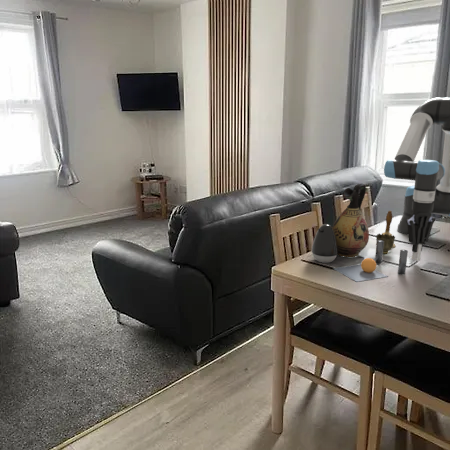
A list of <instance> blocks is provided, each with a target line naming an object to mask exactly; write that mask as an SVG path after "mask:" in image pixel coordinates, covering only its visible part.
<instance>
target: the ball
mask: <svg viewBox="0 0 450 450" xmlns="http://www.w3.org/2000/svg"><path fill="white" fill-rule="evenodd" d="M360 264H361V268H362V270H363V271H365V272H367V273H371V272H373V271H374V270H376V269H377V264H376V262H375V259H373V258H371V257H366V258H364V259H363V260H361V263H360Z"/></svg>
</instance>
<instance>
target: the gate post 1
mask: <svg viewBox="0 0 450 450" xmlns="http://www.w3.org/2000/svg"><path fill="white" fill-rule="evenodd" d="M375 246H376V248H375V255H374V256H375V258H374V261H375V262H376V265H381V264H383V246H384V241H382V240H377V245H375Z"/></svg>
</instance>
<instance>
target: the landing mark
mask: <svg viewBox="0 0 450 450" xmlns="http://www.w3.org/2000/svg"><path fill="white" fill-rule="evenodd" d="M332 269H333V270H334V271H336V272H338V273H339V274H342V275H343V276H344V277H347V278H349V279H350V280H352V281H354V282H356V283H359V282H365V281H371V280H376V279H383V278H388V277H389V276H388V275H386V274H384V273H382V272H380V271H379V270H376V269H375V270H374V271H373V272H371V273H367V272H365V271H363V270H362V268H361V263H359V264H353V265H347V266H339V267H333V268H332Z"/></svg>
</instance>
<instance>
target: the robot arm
mask: <svg viewBox="0 0 450 450" xmlns="http://www.w3.org/2000/svg"><path fill="white" fill-rule="evenodd" d="M409 124H410V125H409V127H408V129H407V131H406V133H405V135H404V137H403V140H402V142H401V143H400V146H399V149H398V151H397V152H396V155H395V156H394V159H393V158H392V159H387V160H386V161H385V164H384V166H383V167H384V168H383V175H384V177H386V178H389V179H395V180H405V181H406V180H409V181H413V182H414V185H410V186H408V187H406V190H405V195H404V203H403V210H402V216H401V218H400V221H399V222H398V224H397V228H396V229H397V232H399V233H401V234H403V235H404V234H405V235H408V242H409V243H411V244H412V248H411V251H412V252H411V253H412V254H411V259H412V260H414V261H421V256H422V251H423V245H426V243H427V242H428V240H429V239H430V236H431V235H430V234H431V232H432V229H433V225H434V224H435V222H436V220H437V219H436V218H435V217H433V216H432V214H434V215H441V216H448V217H450V97H433V98H430V99H428V100H426V101H424V102H423V103H422V104H420V105H419V106H418V107H417V108H416V109H415V110H414V112H413V113H412V114H411V116H410V120H409ZM434 125H439V126H440V125H441V130H442V132H444V142H443V150H442V151H443V152H442V161H441V162H442V163H441V162H439V161H438V160H435V159H420V160H418V161H415V159H416V158H417V154H418V153H419V151H420V148H421V145H422V144H423V141H424V139H425V137H426V136H427V135H426V134H427V132H428V130H430V129H431V128H432V126H434ZM438 182H439V184H437V183H438Z"/></svg>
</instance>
